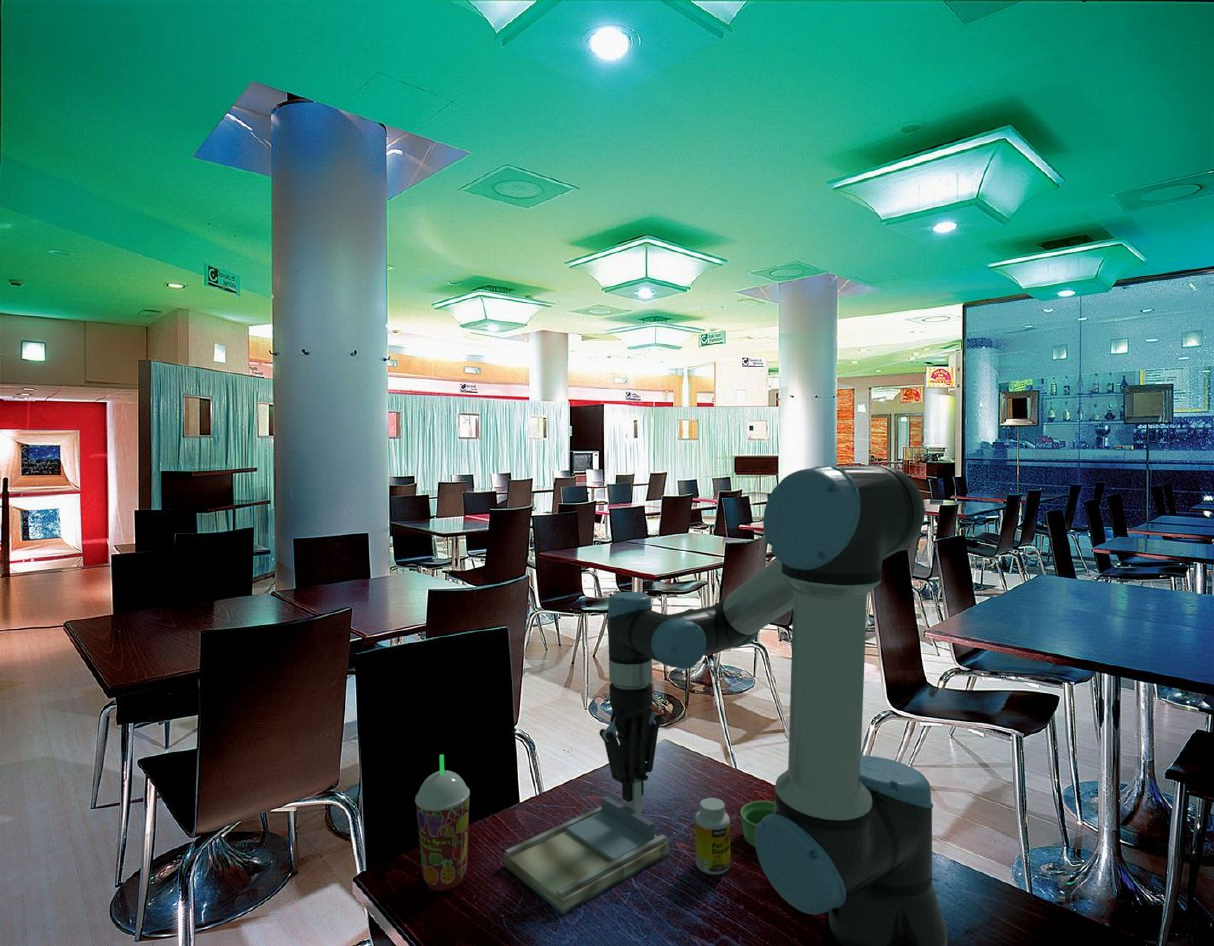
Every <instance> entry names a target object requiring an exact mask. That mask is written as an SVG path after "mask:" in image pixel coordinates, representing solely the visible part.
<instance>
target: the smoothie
mask: <svg viewBox="0 0 1214 946" xmlns="http://www.w3.org/2000/svg"><path fill="white" fill-rule="evenodd" d="M470 790H471V789H470V788H469V787H468V786H467V785H466V782H465V781H464V779H463V778H462V777H461V776H460V774H458V773H457V772H454V771H452V770H445V755H444V754H439V770H438V771H436V772H434V773H432V774H430V775H429V776H427V777H426V779H424V781H423V783H422V784H421V785H420V787H419V791H418V792H417V794H415V798H414V802H415V804H416V807H415V809H416V819H417V829H418V830H417V831H418V840H419V849H420V861H421V871H422V879H423V880H424V882H425V883H426V885H427V888H429V889H431V890H433V891H437V892H445V891H450V890H451V889H454V888H456V887H458V886H459V885H460V884H461V883H462V882H463V880H464V876H465V875H466V873H467V870H468V850H469V849H468V846H469V845H468V844H469V841H468V840H469V820H470V819H469V817H470V813H469V812H470V795H471V791H470Z"/></svg>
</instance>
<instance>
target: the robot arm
mask: <svg viewBox="0 0 1214 946" xmlns="http://www.w3.org/2000/svg"><path fill="white" fill-rule="evenodd" d="M925 508H926V507H925V501H924V498H923V495H922V493H921V491H920V489H919V487H918V486H917V485H916V483H915V482H914V480H912V479H911V478H910V477H909V476H908V475H907V474H905V473H904V472H902V471H901V470H898V469H897V468H894V467H892V466H889V465H883V464H865V465H864V464H863V465H837V466H836V465H835V466H832V465H824V466H823V465H822V466H819V465H818V466H814V467H810V468H805V469H804V468H803V469H800V470H797V471H794V472H791V473H790V474H788V475H786V476H785V477H784V478H783V479H781V480H780V482H779V483H778V484H777V485H776V486H775V487H774V488H773V490H772V491H771V492H770V495H768V499H767V500H766V503H765V507H764V511H763V517H762V519H763V520H762V525H763V534H764V538H765V541H766V544H767V545H770V547H771V548H770V552H771V553H772V554H773V556H774V557H775V558H776V559H774V560H773V561H772V562H770V563H769V564H768V565H766V566H765V567H764V568H763V569H761V570H760V571H758V572H757V573H755V574H754V575H753V576H752V577H750V578H749V579H748V580H746V581H745V582H743V583H742V584H741V585H740V586H738V587H737V588H736V589H734V590H733V591H731V593H729V594H728V595H727V596H725V597H724V598H722V599H721V600H720V601H718V602H717V603H715V604H713V605H710V606H706V607H700V608H696V609H691V610H690V609H689V610H686V611H679V612H676V613H668V614H665V613H662V612H657V611H654V610H653V609H652V608H653V606H652V601H651V597H650V596H649V595H648V594H647V593H645V592H639V591H624V592H618V593H614V594H612V595H611V596H610V597H609V599H608V601H607V602H608V603H607V606H608V607H607V617H606V620H607V639H608V678H609V682H610V684H609V686H608V687H609V689H608V690H609V705H610V707H611V710H612V711H611V716H610V720H609V721H610V723H609V725H608V726H607V727H606V728H601V729H600V730H599V732H598V733H599V736H600V737H601V739H602V740H603V742H604V746H605V751H606V755H607V760H608V764H609V768H610V772H611V773H610V774H611V777H612V780H615V781H617V782H618V783H620V784H621V790H622V792H621V795H622V797H621V798H622V799H623V800H624V806H626V807H627V808H629V809H631V810H633V811H634V812H636V813H638V814H640V815H641V816H643V812H642V811H643V807H642V806H643V805H642V804H643V803H642V796H644V793H645V790H644V781H645V782H646V781H647V780H648V779H649V775H647V773H651V772H652V771H653V768H654V762H655V755H656V748H657V742H658V741H657V740H658V735H659V729H660V726H661V724H662V721H663V716H662V715H661V714H658V713H656V712H654V711H653V709H652V705H653V703H654V701H653V698H654V697H653V696H654V692H653V690H654V687H653V684H652V681H653V661H655V662H657V663H661V664H663V665H665V666H667V667H668V666H669V667H670V668H677V669H681V670H688V669H692V668H694V667H695V666H696V664H697V663H699V662H700V661H701V660H702V659H703V657H704V656H705V655H708V654H712V653H716V652H719V651H725V650H728V649H734V648H735V649H736V648H740V647H742V646H745V645H747V644H750V643H752V642H754V641H755V640H756V638H758V635H759V632H760V630H762V629H763V628H765V627H767V626H768V625H770V624H771V623H773V622H774V621H776V620H778V619H779V618H780V617H782V616H783V615H786V614H787V613H788V612H789V611H791V610H792V629H791V630H792V631H791V635H792V636H791V637H792V638H791V661H790V663H791V664H790V699H789V701H790V702H789V704H790V705H789V725H788V726H789V731H788V733H789V735H788V762H787V764H788V767H787V770H785V771H784V772H783V773H781V774H780V775H779V776H778V777H777V778H776V781H775V786H774V787H775V788H774V790H775V791H774V802H775V809H774V812H773V814H768V815H766V816H765V817H764V818H763V819H762V821H760V822H759V824H758V825H757V828H756V831H755V847H754V848H755V853H756V856H757V859H758V861H759V864H760V867H761V869H762V871H763V873H764V875H765V876H766V877H767V878H768V880H769V883H770V884H771V887H773V888H774V890H775V891H776V892H777V893H778V895H779V896H780V897H781V898H782V899H783V900H784V901H786V902H787V903H788V904H789V905H790V906H792V907H794V908H795V909H797V910H798V911H800V912H802V913H805V914H808V915H816V916H817V915H822V914H825V913H827V912H828V924H829V928H830V930H831V934H832V935H833V937H834V938H835V940H837V942H839V944H840V945H841V946H948V928H947V925H946V921H945V918H944V915H943V913H942V910H941V909H942V908H941V906H940V904H939V903H940V902H939V901H938V899H937V898H938V897H937V895H936V892H935V890H934V886H933V808H934V803H933V802H932V793H931V792H932V791H931V784H930V782H929V780H928V779H927V777H925V775H924V774H922V773H921V772H920V771H919V770H917V769H916V768H914V767H912V766H910V765H908V764H905V763H902V762H899V761H896V760H894V759H891V758H890V759H889V758H885V757H881V756H874V755H862V735H863V715H864V714H863V711H864V710H863V709H864V684H865V682H864V681H865V679H864V678H865V661H866V660H865V657H866V632H867V604H868V602H867V601H868V595H869V593H870V592H871V591H872V590H873V589H875V588H876V587H877V586H879V585H880V584H881V582H882V568H883V567H882V566H883V561H884V560H885V559H887V558H889V557H891V556H892V555H894V554H896V553H897V552H899V551H902V550H903V549H905V548H907V547H908V546H909V545H910V544H911V543H913V542H914V541H915V540H916V538H917V536H919V534H920V532H921V530H922V527H923V524H924V522H925V515H926V513H925V512H926V509H925Z"/></svg>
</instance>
